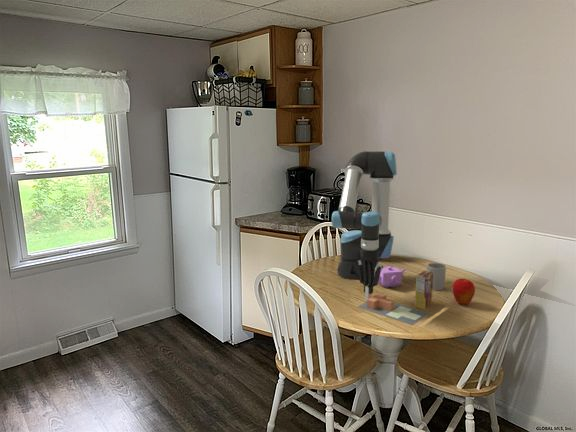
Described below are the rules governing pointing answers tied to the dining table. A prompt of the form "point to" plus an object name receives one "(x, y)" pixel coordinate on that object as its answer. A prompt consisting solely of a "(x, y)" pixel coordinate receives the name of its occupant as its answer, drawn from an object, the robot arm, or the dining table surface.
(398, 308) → the plate
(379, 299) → the t block
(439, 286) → the mug
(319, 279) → the dining table surface
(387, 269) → the teapot
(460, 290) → the apple
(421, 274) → the candy box
